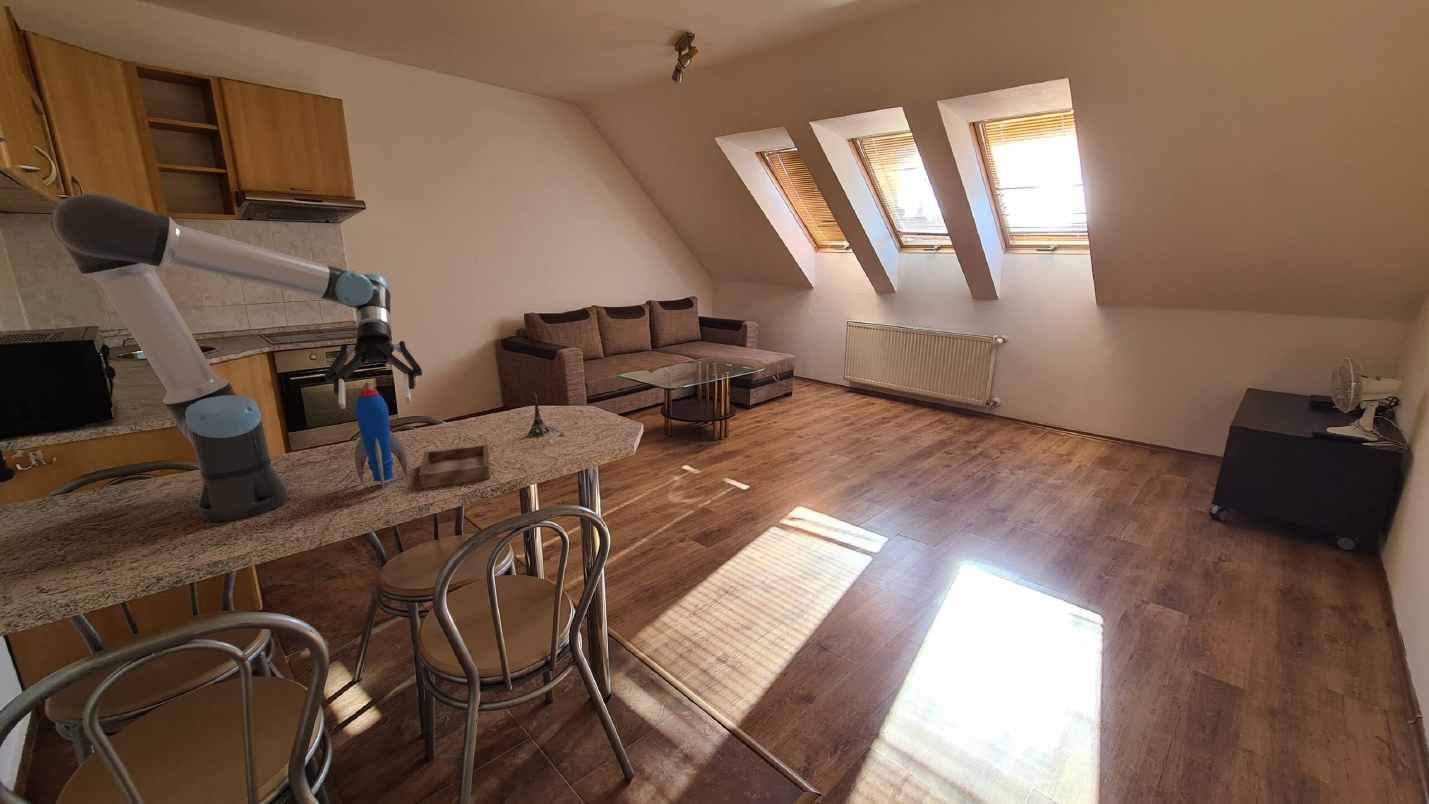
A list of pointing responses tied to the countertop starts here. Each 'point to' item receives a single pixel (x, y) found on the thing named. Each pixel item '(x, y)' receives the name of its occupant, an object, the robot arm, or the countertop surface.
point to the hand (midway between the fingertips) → (375, 403)
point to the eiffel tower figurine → (540, 425)
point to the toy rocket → (376, 437)
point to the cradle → (454, 466)
